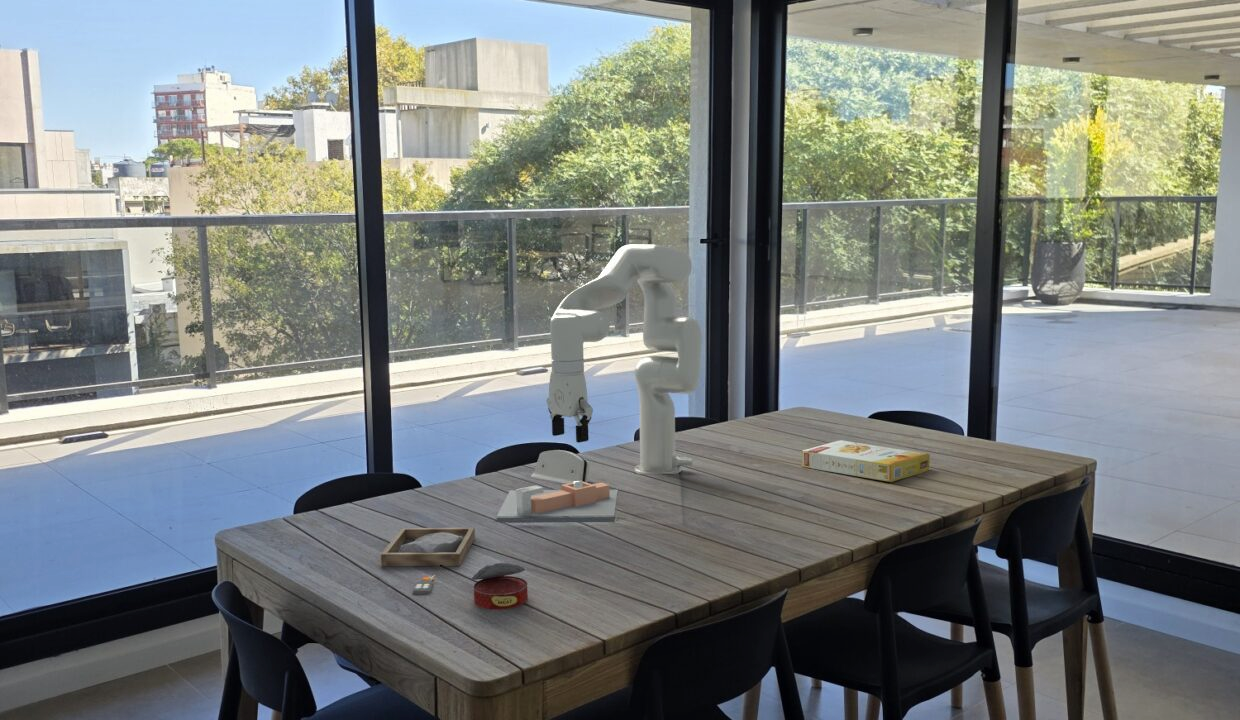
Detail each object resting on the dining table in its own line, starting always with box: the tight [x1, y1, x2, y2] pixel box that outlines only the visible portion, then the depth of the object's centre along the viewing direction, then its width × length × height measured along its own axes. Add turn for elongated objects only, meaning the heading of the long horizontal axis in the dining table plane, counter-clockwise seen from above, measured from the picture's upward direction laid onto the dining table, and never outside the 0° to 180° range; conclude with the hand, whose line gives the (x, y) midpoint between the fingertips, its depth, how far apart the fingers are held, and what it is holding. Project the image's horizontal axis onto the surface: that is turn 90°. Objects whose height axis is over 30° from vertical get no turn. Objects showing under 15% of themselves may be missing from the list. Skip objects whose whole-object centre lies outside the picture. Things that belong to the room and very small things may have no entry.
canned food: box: [471, 562, 528, 611], centre depth 197 cm, size 11×10×10 cm
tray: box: [380, 527, 476, 567], centre depth 226 cm, size 16×18×2 cm
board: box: [496, 489, 619, 524], centre depth 257 cm, size 27×23×2 cm
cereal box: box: [801, 439, 931, 483], centre depth 291 cm, size 20×6×28 cm
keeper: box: [515, 484, 544, 517], centre depth 249 cm, size 6×3×7 cm, turn 128°
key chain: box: [412, 575, 435, 595], centre depth 208 cm, size 13×4×2 cm, turn 2°
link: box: [531, 482, 611, 513], centre depth 256 cm, size 22×6×4 cm, turn 128°
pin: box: [574, 480, 583, 488], centre depth 257 cm, size 2×2×6 cm
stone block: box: [399, 532, 463, 553], centre depth 225 cm, size 12×5×10 cm
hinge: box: [530, 449, 590, 485], centre depth 280 cm, size 17×5×10 cm, turn 50°
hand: (570, 438), depth 254 cm, fingers open, 9 cm apart
